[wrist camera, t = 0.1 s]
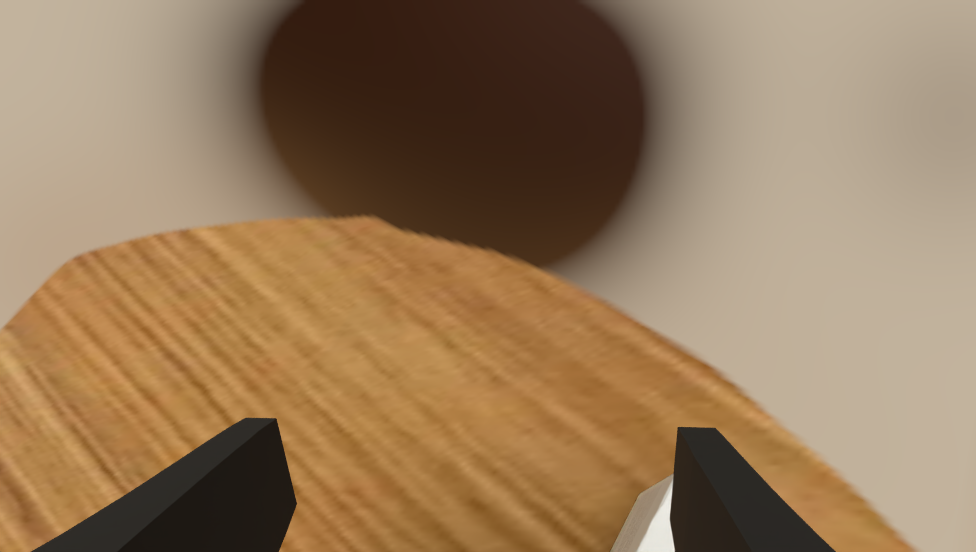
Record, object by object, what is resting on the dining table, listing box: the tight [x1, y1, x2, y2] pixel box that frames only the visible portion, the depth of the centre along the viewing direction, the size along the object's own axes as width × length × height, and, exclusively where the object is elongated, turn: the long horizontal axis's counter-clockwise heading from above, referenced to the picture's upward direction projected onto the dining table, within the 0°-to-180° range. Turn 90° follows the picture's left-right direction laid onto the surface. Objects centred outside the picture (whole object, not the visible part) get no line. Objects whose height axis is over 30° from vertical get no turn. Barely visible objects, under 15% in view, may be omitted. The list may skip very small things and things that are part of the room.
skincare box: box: [610, 473, 675, 552], centre depth 32 cm, size 6×4×12 cm
